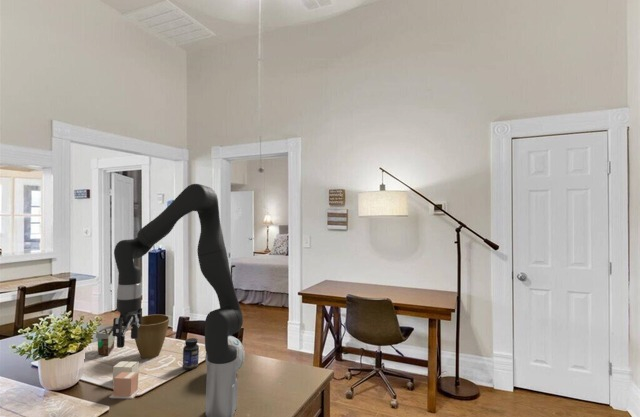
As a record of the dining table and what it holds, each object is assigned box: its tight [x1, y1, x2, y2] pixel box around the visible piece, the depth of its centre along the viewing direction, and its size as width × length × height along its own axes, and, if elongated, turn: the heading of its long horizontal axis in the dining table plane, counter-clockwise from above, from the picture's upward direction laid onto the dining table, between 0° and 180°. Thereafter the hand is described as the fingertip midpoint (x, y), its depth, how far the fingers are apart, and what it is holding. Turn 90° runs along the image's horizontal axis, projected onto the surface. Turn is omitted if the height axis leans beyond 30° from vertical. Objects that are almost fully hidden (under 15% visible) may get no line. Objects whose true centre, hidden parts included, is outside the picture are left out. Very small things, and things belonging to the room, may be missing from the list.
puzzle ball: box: [205, 335, 246, 373], centre depth 137 cm, size 15×15×15 cm
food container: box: [95, 325, 116, 357], centre depth 155 cm, size 12×6×10 cm, turn 17°
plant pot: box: [134, 314, 170, 360], centre depth 153 cm, size 15×15×16 cm
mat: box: [108, 388, 142, 400], centre depth 120 cm, size 8×6×1 cm
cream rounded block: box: [112, 360, 140, 384], centre depth 130 cm, size 7×5×6 cm
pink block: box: [112, 372, 139, 396], centre depth 120 cm, size 6×4×6 cm
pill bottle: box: [182, 337, 200, 371], centre depth 143 cm, size 6×6×11 cm
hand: (127, 342), depth 120 cm, fingers open, 8 cm apart
